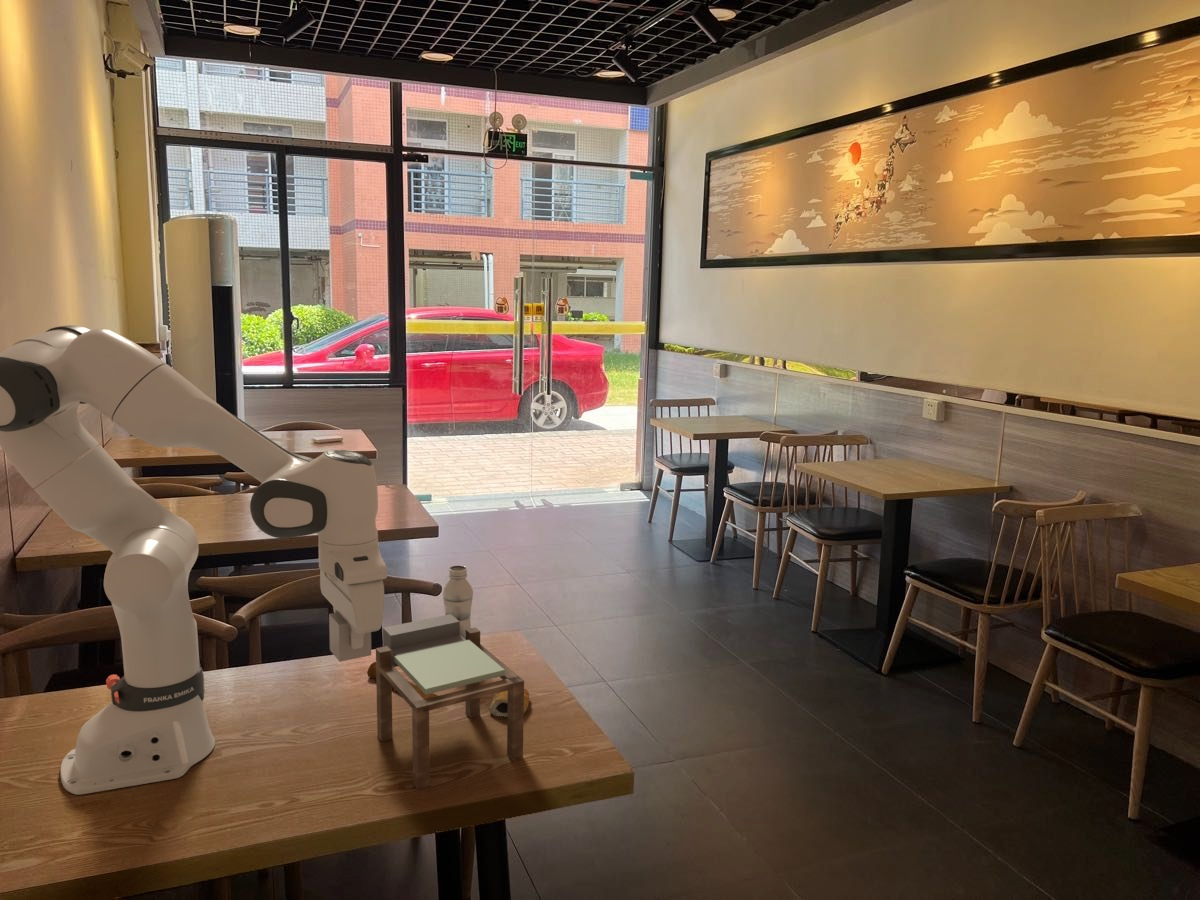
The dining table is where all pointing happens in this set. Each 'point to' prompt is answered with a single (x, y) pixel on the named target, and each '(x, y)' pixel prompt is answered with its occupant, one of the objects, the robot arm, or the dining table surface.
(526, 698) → the pastry
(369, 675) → the primitive tool
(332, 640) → the light grey block
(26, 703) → the dining table surface
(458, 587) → the plastic bottle
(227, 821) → the dining table surface
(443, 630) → the trapdoor
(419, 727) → the stand
